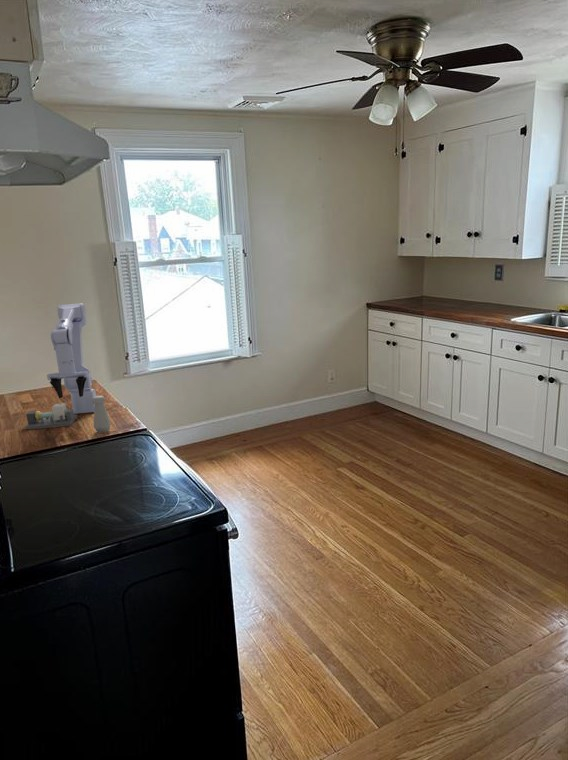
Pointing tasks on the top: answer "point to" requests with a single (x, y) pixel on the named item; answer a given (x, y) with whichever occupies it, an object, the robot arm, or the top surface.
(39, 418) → the yellow round puck
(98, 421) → the salt shaker
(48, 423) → the rod slider bracket
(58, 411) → the sleeve
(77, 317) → the robot arm
